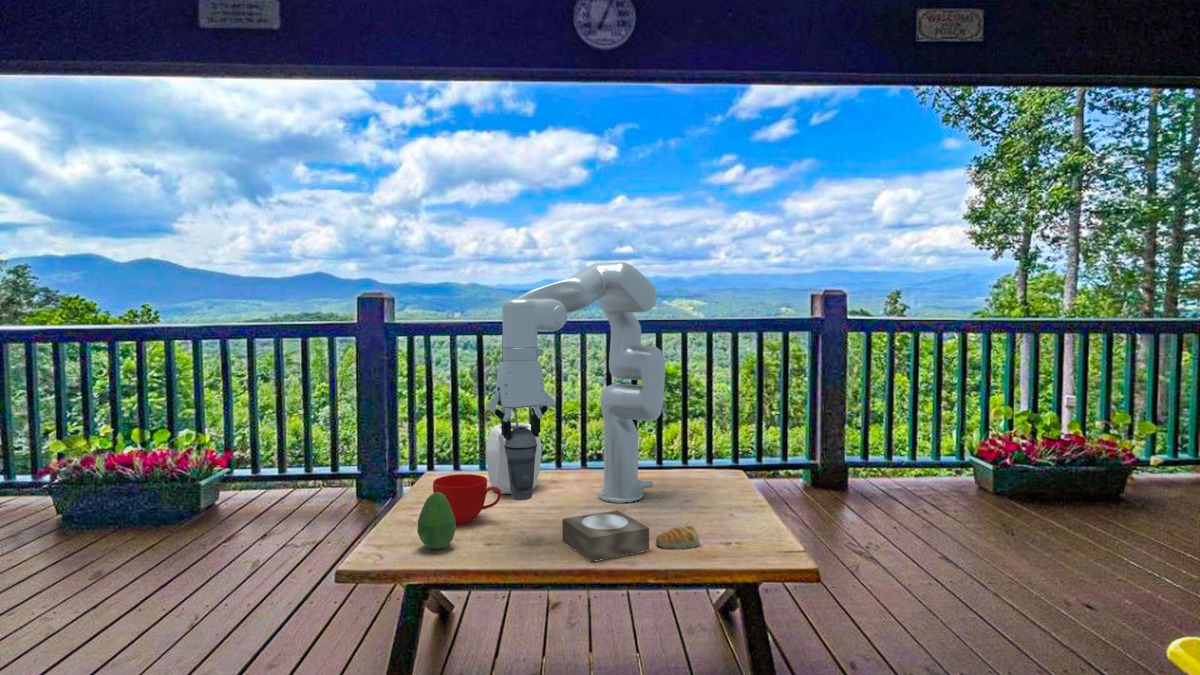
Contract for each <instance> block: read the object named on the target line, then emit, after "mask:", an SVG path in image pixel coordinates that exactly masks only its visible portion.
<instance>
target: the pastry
mask: <svg viewBox="0 0 1200 675" xmlns="http://www.w3.org/2000/svg"><path fill="white" fill-rule="evenodd" d="M700 541H701V540H700V538H699V534H698V532H697V529H696V528H695V527H694V526H692V525H685V526H683V527H682V526H678V527H677V526H676V527H672V528H670V529H669V530H668V531H664V532H662V533H660V534H659V535H657V536H656V539H655V545H656V546H659V547H661V548H663V549H666V548H669V549H672V548H681V549H685V548H684V547H691V548H694V547H693V546H697V545H698V546H699V544H700ZM698 546H697V547H698Z"/></svg>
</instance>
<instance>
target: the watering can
mask: <svg viewBox="0 0 1200 675" xmlns="http://www.w3.org/2000/svg"><path fill="white" fill-rule="evenodd" d="M518 426H519V427H525V428H527V429H529V430H530V431H531V423H523V422H518ZM515 428H516V422H511V431H512V430H513V429H515ZM535 438H536V442H537V450H536V455H535V465H534V481H533V490H534V489H535V488H536V485H537V482H538V478H539V476H540V475H539V474H540V468H541V460H542V453H543V447H542V442H541V437H540V435H539V437H535ZM505 440H506V439H505V438H504V437H503V436H502V432H501V423H499V424H497V425H494V426H493V427H492V428H491V430H490V432H489V433H488V437H487V440H486V441H487V442H486V448H485V457H486V465H487V468H486V469H487V475H488V479H489V483H490V487H492V486H494V487H498V488H499V489H500V491H501V495H504V494H505V495H507V494H509V495H511V490H510V481H509V472H508V462H507V456H506V452H505V447H504V445H505ZM494 491H495V492H497V491H496V490H494Z"/></svg>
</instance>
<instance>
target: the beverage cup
mask: <svg viewBox="0 0 1200 675" xmlns="http://www.w3.org/2000/svg"><path fill="white" fill-rule="evenodd" d="M513 412H514V419H515V421H514V422H515V423H516V428H515V429H513V430H512V431H511V439H510V440H507V439H506V440H505V445H504V447H505V452H506V456H507V462H508V472H509V481H510V490H511V494H510V495H511V499H512V500H514V501H527V500H530V499H532V498H533V490H534V489H533V481H534V465H535V455H536V450H537V442H536V438H535V436H534V434H533V433H532V432H531V431H530V430H529V429H527V428H525V427H519V426H518V423H519V420H518V419H519V418H518V412H517V408H513Z"/></svg>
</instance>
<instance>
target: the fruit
mask: <svg viewBox="0 0 1200 675" xmlns="http://www.w3.org/2000/svg"><path fill="white" fill-rule="evenodd" d="M456 529H457V525H456V523H455V517H454V514H453V511H452V509H451V507H450V504H449V502H448V500H447V498H446V497H445V495H444V494H442V493H440V492H436V493H431V494H430V495H429V496H428V497H427V498H426V499H425V502H424V504H423V506H422V509H421V510H420V513H419V516H418V519H417V531H416V532H417V535H418V537H419V539H420V541H421V542H422V544H424V546H426V547H428V548H430V549H433V550H442V549H444V548H447V546H449V544H451V542H452V541H453V539H454V537H455V534H456Z"/></svg>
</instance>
